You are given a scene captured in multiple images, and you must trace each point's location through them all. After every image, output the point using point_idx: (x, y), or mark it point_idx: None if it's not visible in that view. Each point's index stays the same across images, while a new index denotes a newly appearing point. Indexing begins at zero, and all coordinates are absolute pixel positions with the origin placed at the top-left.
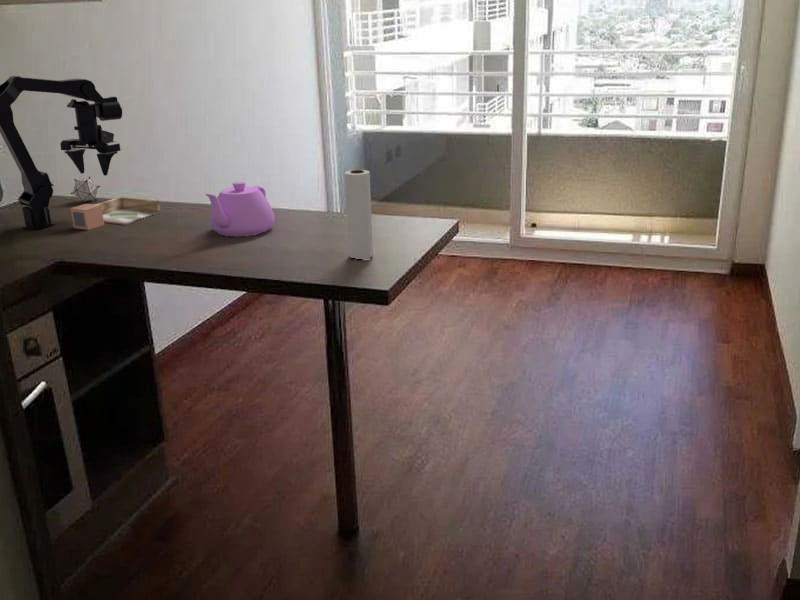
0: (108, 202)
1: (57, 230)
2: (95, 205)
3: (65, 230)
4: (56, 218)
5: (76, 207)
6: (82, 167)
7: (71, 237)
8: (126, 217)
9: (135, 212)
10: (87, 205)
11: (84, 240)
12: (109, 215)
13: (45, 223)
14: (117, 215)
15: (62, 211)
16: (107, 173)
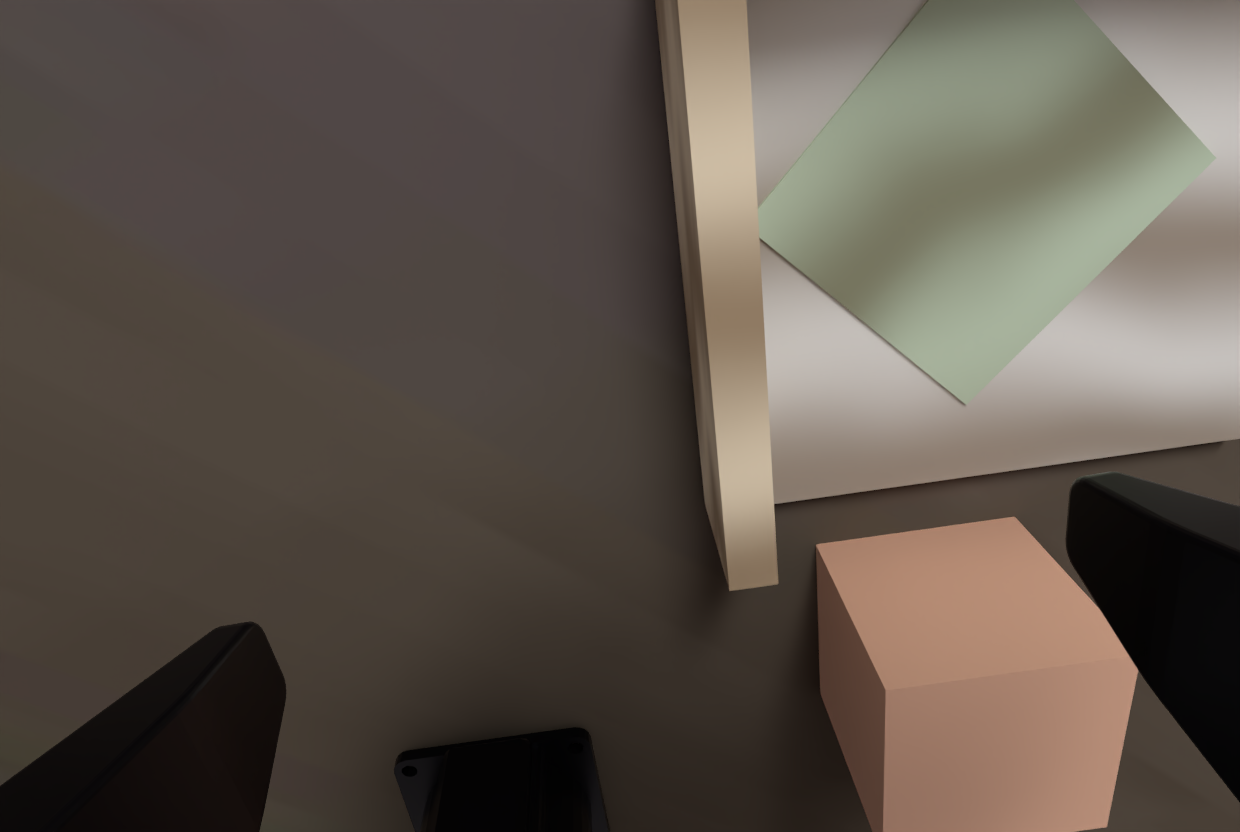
0: (757, 246)
1: (758, 782)
2: (1078, 690)
3: (821, 756)
4: (339, 598)
5: (928, 820)
6: (194, 776)
7: None
8: (1108, 269)
9: (1067, 35)
10: (978, 728)
11: (1186, 815)
12: (834, 306)
13: (588, 814)
14: (944, 270)
15: (44, 403)
16: (1146, 483)
